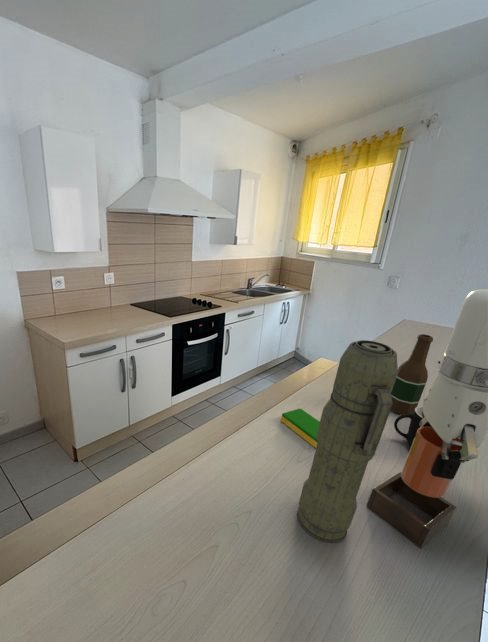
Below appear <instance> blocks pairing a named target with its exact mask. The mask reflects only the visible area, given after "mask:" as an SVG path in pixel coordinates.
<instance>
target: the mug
mask: <svg viewBox="0 0 488 642" xmlns="http://www.w3.org/2000/svg"><path fill="white" fill-rule="evenodd" d="M422 412H423V405H417V407H416V408H415V410H414V412H413V413H412V414H404V415H399V416H397V417H396V418H395V420H394V422H393V427H394V430H395V431H396V433H397V434H398V435H400V436H401V437H403V438H404V439H406V443H407V446H408V448H409V449H410V448H411V446H412V443H413V440H414V438H415V435H416V433H417V430H418V428H420V421H421V420H422V419H423V416H422ZM407 418H408V419H410V422H409V426H408V430H407V433H404V432H402V431H401V430H400V429H399V428H398V424H399V421H400V420H402V419H407Z"/></svg>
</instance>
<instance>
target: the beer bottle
mask: <svg viewBox="0 0 488 642" xmlns="http://www.w3.org/2000/svg"><path fill="white" fill-rule="evenodd" d="M416 338H417V340H416V342H415V345H414V347H413V349H412V352H411V354H410V356H409V357H408V359H407V360H405V361H404V362H402V363H401V364H400V365H399V366H398V373H397V376H396V379H395V382H394V385H393V388H392V391H391V396H392V402H393V404H392V407H391V410H390V412H391V413H393V414H395V415H399V416H401V415H404V414H412V413H413V412H414V410H415V408H416V407H418V406H419V403H420V400H421V398H422V395H423V392H424V389H425V388H426V384H427V382H428V379H429V374H428V373H429V372H428V369H427V366H426V363H427V358H428V355H429V351H430V348H431V345H432V343H433V342H434V337H433V336H431V335H429V334H424V333H422V334H421V333H420V334H418V335H417V337H416Z"/></svg>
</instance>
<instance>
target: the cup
mask: <svg viewBox="0 0 488 642" xmlns="http://www.w3.org/2000/svg"><path fill="white" fill-rule="evenodd" d="M452 440H454V441H460V438H458V437H457V438H455V439H454V438H453V439H452ZM442 445H443V440H442V439H441V438H440V436H439V435H438V434H437V433H436V431H435V430H434V429H433V427H430V426H424V427H420V428H418V430H417V433H416V435H415V438H414V440H413V443H412V446H411V448H409V451H408V454H407V456H406V459H405V461H404V464H403V467H402V470H401V472H402V473H401V478H402V480H403V481H404V483H405V484H406V485H407V486H409V487H410V488H411V489H413V490H414V491H416V492H418V493H420V494H422V495H425V496H428V497H433V498H439V497H441V498H443V497H444V496H445V495H446V493H448V490H449V487H450V486H451V483H452V481H453V479H446V478H441V477H436V476H432V474H431V470H432V468H433V465H434V463H435V461H436V458H437V456H438V455H442ZM452 451H458V445H452V444H451V446H450V452H452Z"/></svg>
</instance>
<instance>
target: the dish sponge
mask: <svg viewBox="0 0 488 642" xmlns="http://www.w3.org/2000/svg"><path fill="white" fill-rule="evenodd" d="M280 422H282V423H283V424H284V425H286V426H287V427H288V428H289V429H290V430H292V431H293V432H294V433H295V434H297V435H298V436H299V437H301V438H302V439H303V440H305V441H306V442H307V443H309V444H310V445H311V446H312V447H314V448H315V449H316V447H317V443H318V442H317V438H316V436H317V431H318V427H319V423H320V420H318V419H317V418H315V417H314V416H313V415H311V414H310V413H308V412H307V411H305V410H304V409H302V408H297V409H292V410H289V411H286V412H282V413H281V418H280Z"/></svg>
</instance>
